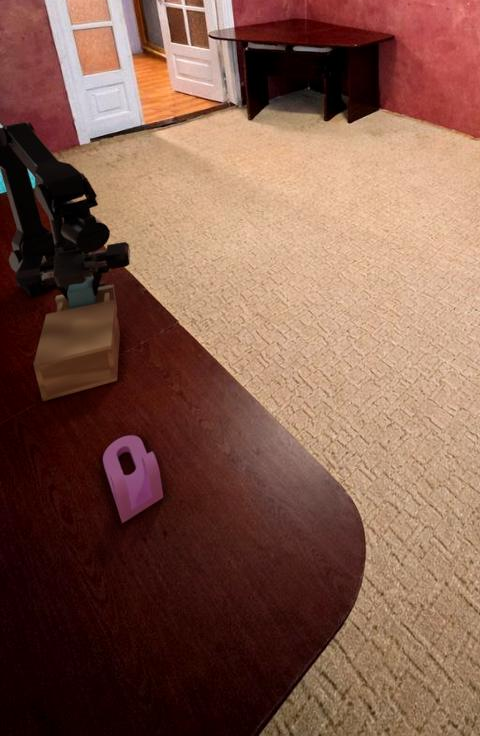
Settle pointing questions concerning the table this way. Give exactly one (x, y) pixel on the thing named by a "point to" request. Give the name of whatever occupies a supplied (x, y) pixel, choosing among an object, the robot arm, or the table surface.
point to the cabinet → (78, 350)
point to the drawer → (103, 295)
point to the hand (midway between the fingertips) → (82, 297)
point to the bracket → (132, 477)
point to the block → (81, 294)
